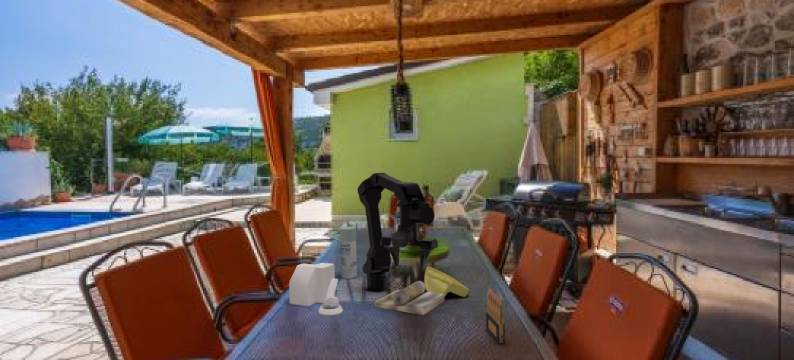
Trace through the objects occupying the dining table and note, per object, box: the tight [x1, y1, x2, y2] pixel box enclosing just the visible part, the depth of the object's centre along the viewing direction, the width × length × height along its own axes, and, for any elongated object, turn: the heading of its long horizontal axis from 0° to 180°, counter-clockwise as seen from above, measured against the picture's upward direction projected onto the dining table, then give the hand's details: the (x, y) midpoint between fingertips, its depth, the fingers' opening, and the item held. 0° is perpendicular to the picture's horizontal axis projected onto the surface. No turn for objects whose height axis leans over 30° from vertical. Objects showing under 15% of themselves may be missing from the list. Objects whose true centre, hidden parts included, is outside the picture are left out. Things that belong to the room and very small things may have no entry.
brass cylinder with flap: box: [386, 283, 420, 301], centre depth 165 cm, size 6×9×4 cm, turn 61°
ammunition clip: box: [485, 288, 506, 345], centre depth 134 cm, size 11×2×12 cm, turn 7°
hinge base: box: [373, 280, 445, 316], centre depth 164 cm, size 18×16×6 cm
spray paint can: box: [338, 226, 358, 280], centre depth 199 cm, size 6×6×20 cm
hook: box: [317, 278, 343, 316], centre depth 159 cm, size 8×12×7 cm
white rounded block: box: [288, 262, 336, 307], centre depth 168 cm, size 11×11×12 cm
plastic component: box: [423, 265, 470, 298], centre depth 178 cm, size 20×7×10 cm
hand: (409, 268), depth 164 cm, fingers open, 9 cm apart
